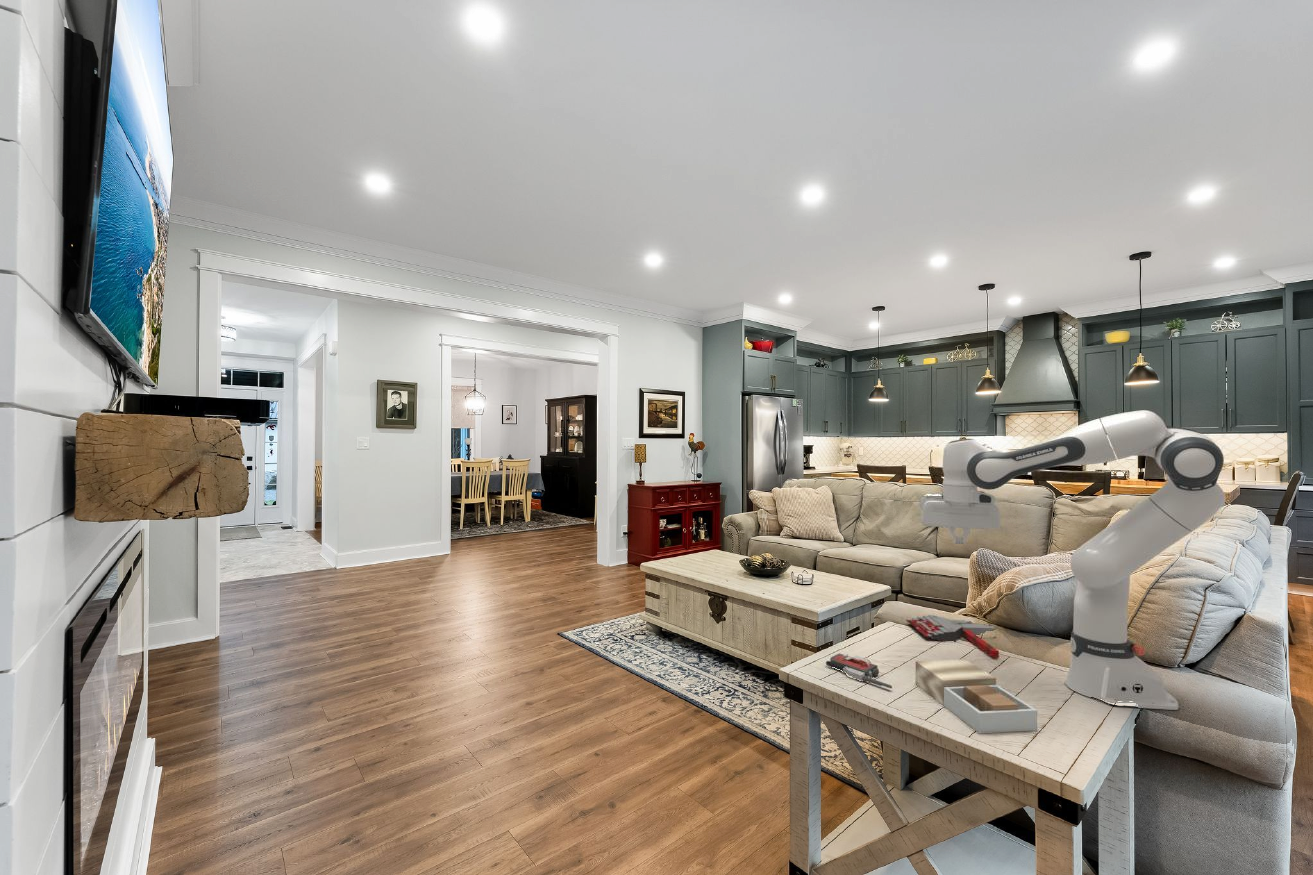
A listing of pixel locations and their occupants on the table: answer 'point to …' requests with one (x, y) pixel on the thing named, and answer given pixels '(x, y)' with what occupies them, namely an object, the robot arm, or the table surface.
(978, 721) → the grey bin
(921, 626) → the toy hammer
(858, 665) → the toy chainsaw
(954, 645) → the table surface
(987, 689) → the walnut block
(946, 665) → the pale wood block
